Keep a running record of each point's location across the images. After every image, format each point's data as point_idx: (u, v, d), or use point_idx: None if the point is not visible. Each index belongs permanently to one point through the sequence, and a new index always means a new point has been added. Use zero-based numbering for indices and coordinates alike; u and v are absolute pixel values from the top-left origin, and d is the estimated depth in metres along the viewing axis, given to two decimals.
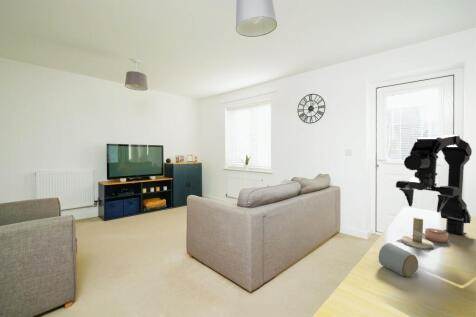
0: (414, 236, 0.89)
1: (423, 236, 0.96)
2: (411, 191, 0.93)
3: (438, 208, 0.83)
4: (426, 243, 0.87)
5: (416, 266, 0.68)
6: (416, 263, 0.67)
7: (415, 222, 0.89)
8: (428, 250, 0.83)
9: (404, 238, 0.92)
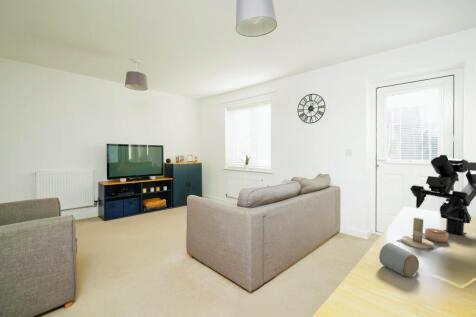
0: (414, 236, 0.89)
1: (423, 236, 0.96)
2: (422, 197, 0.99)
3: (445, 209, 0.88)
4: (426, 243, 0.87)
5: (417, 266, 0.68)
6: (417, 263, 0.68)
7: (415, 222, 0.88)
8: (428, 250, 0.83)
9: (404, 238, 0.92)
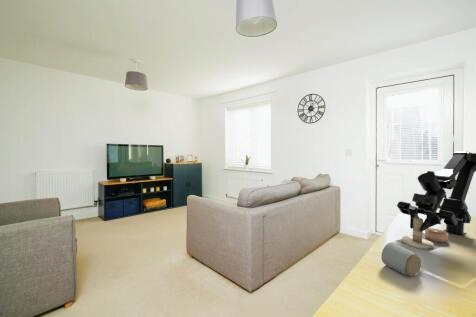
0: (414, 236, 0.89)
1: (423, 236, 0.96)
2: (417, 217, 0.92)
3: (422, 226, 0.87)
4: (426, 243, 0.87)
5: (419, 265, 0.68)
6: (419, 262, 0.68)
7: (415, 222, 0.88)
8: (428, 250, 0.83)
9: (404, 238, 0.92)
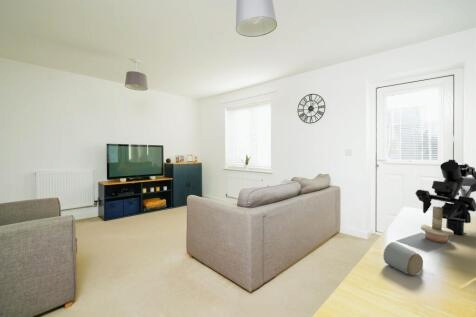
0: (434, 224, 0.92)
1: (423, 236, 0.96)
2: (429, 202, 0.98)
3: (450, 214, 0.88)
4: (446, 230, 0.90)
5: (421, 265, 0.68)
6: (421, 262, 0.68)
7: (435, 210, 0.92)
8: (428, 250, 0.83)
9: (423, 226, 0.95)
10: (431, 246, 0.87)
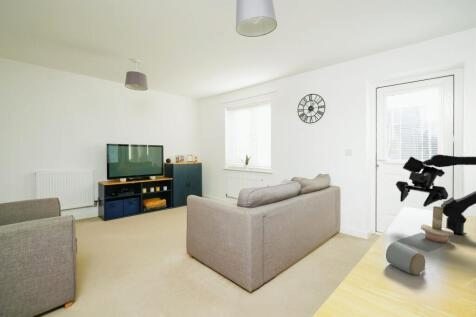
0: (434, 224, 0.92)
1: (423, 236, 0.96)
2: (406, 192, 1.07)
3: (425, 202, 0.97)
4: (446, 230, 0.90)
5: (423, 264, 0.69)
6: (423, 261, 0.69)
7: (435, 210, 0.92)
8: (428, 250, 0.83)
9: (424, 226, 0.95)
10: (431, 246, 0.87)
